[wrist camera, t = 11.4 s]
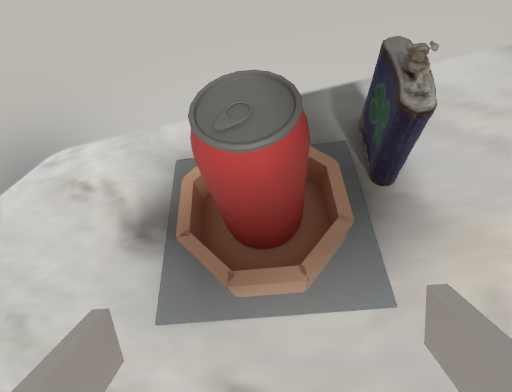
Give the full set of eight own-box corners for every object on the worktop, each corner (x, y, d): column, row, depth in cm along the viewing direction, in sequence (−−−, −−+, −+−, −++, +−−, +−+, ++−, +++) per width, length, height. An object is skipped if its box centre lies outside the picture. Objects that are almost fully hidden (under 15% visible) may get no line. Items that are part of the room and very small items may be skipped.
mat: (344, 143, 28) (345, 140, 27) (395, 307, 19) (397, 306, 19) (177, 162, 29) (176, 160, 28) (157, 325, 20) (155, 324, 20)
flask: (356, 117, 29) (386, 10, 20) (384, 116, 29) (428, 7, 20) (369, 187, 25) (416, 90, 15) (402, 187, 24) (471, 88, 15)
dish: (323, 154, 27) (328, 127, 23) (356, 287, 20) (369, 275, 17) (198, 169, 27) (185, 144, 24) (188, 301, 21) (169, 291, 17)
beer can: (211, 217, 23) (151, 111, 13) (263, 172, 25) (246, 49, 15) (264, 269, 21) (239, 184, 10) (318, 213, 22) (343, 96, 12)
